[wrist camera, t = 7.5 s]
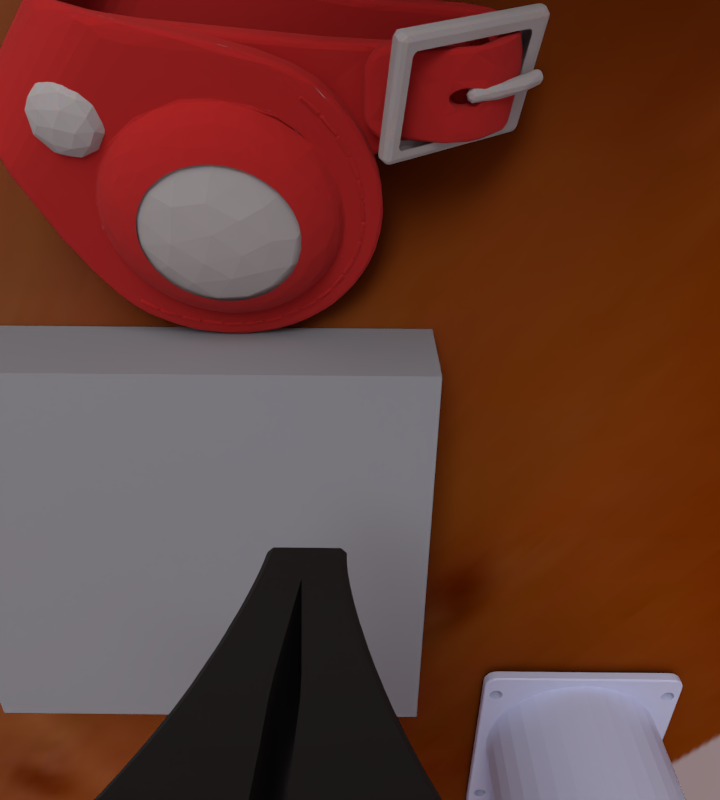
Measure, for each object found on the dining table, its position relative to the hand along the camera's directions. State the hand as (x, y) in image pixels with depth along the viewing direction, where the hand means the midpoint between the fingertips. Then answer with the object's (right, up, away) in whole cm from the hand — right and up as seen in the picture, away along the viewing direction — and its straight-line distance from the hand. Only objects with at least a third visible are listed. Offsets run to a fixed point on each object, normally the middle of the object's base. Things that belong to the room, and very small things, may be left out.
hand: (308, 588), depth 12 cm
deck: (-4, 0, +11) cm, 12 cm away
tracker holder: (-1, +10, +6) cm, 12 cm away
